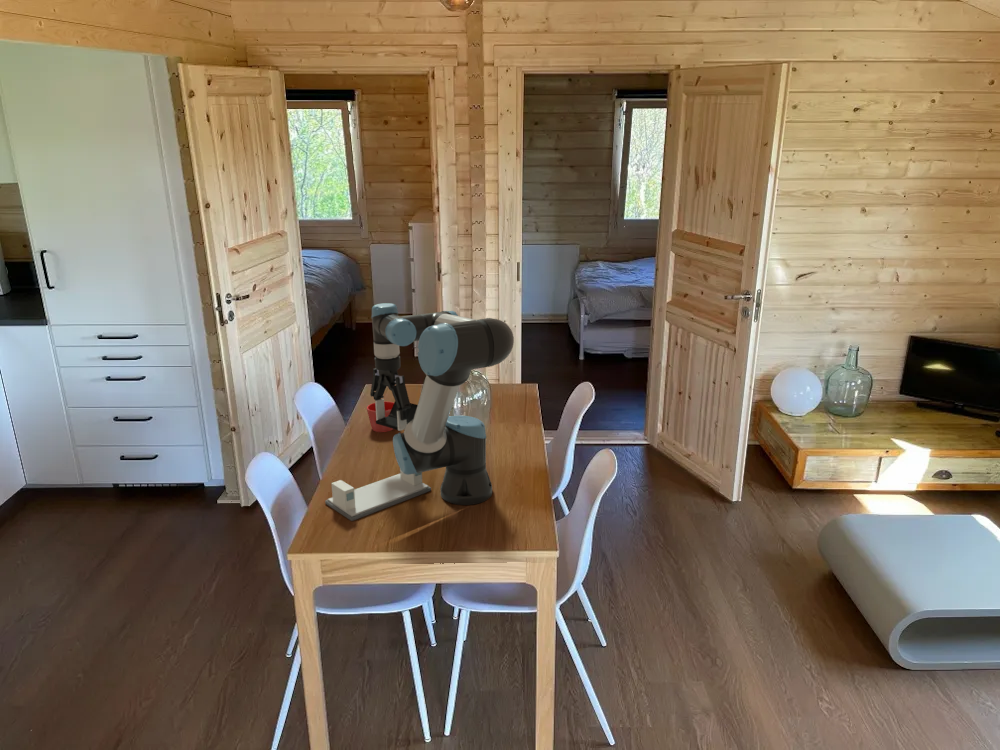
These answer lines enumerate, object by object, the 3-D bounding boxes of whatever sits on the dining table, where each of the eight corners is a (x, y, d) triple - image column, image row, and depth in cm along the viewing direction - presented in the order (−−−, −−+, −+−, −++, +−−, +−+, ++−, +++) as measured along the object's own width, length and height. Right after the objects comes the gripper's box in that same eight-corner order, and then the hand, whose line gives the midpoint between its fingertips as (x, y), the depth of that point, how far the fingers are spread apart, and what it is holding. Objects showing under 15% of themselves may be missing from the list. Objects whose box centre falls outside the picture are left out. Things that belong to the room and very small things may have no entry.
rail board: (431, 490, 213) (430, 467, 211) (351, 521, 196) (349, 496, 194) (403, 475, 223) (402, 453, 221) (325, 503, 206) (323, 479, 203)
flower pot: (365, 428, 261) (363, 403, 259) (394, 424, 265) (393, 399, 263) (372, 439, 252) (370, 412, 249) (402, 434, 256) (401, 408, 253)
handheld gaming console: (379, 429, 225) (374, 421, 223) (400, 406, 231) (395, 398, 229) (402, 436, 218) (397, 428, 216) (424, 413, 224) (419, 404, 222)
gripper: (420, 360, 209) (423, 431, 215) (376, 346, 226) (381, 412, 232) (398, 365, 204) (402, 437, 211) (355, 350, 222) (360, 417, 228)
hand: (391, 424), depth 221 cm, fingers closed on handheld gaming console, 11 cm apart
